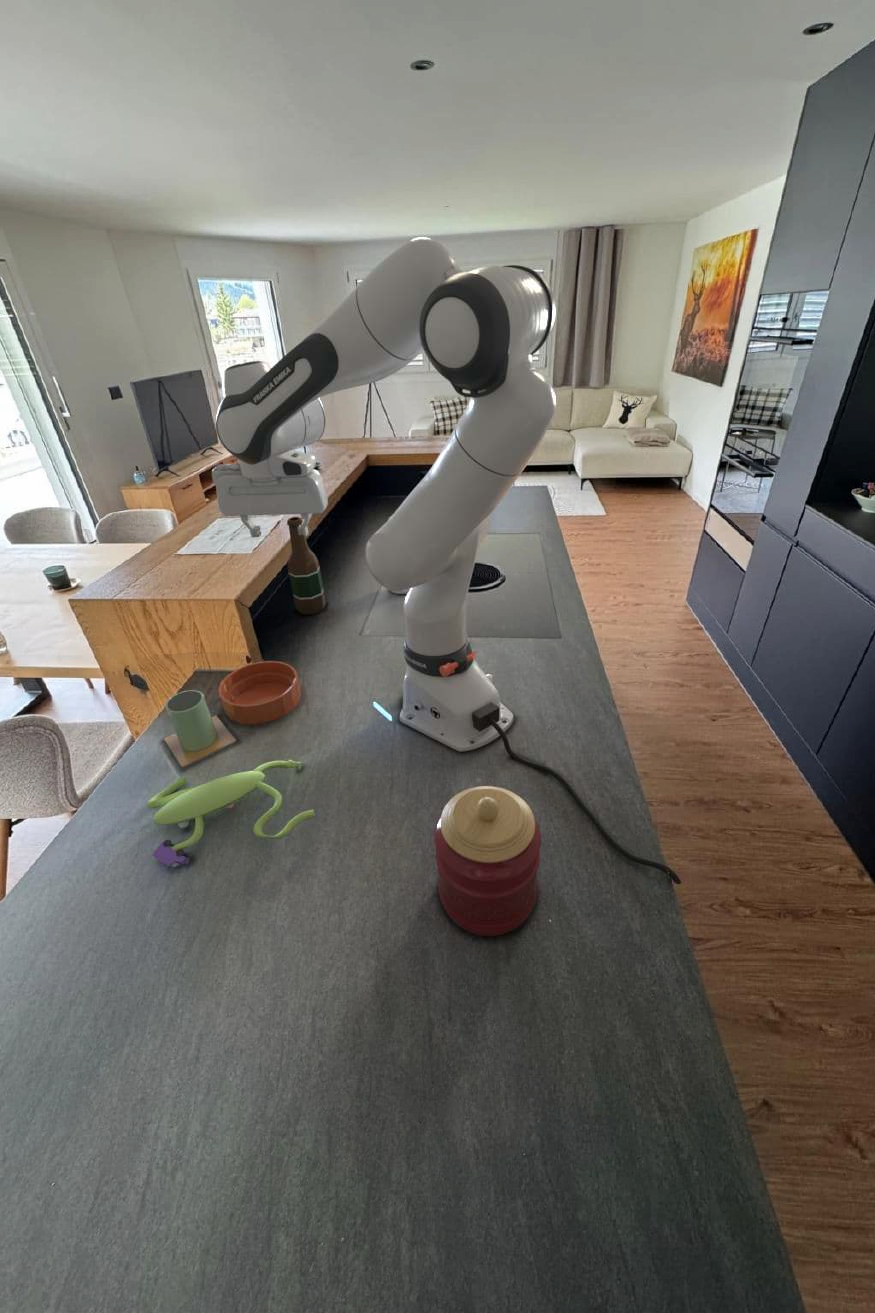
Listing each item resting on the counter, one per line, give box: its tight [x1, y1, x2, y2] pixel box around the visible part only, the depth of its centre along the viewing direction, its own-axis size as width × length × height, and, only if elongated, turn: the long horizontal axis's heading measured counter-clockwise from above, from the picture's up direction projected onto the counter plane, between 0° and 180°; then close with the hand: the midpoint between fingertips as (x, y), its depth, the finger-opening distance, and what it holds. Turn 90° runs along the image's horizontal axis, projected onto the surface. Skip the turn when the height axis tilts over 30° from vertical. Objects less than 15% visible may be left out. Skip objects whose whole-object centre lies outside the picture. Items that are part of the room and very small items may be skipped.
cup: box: [164, 689, 217, 751], centre depth 99 cm, size 6×6×9 cm
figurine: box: [147, 759, 316, 869], centre depth 85 cm, size 18×27×6 cm
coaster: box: [163, 714, 237, 768], centre depth 102 cm, size 10×10×1 cm
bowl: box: [218, 660, 302, 726], centre depth 110 cm, size 15×15×5 cm
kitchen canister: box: [434, 785, 542, 937], centre depth 69 cm, size 13×13×18 cm
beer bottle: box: [286, 516, 326, 615], centre depth 138 cm, size 8×8×24 cm
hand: (280, 535), depth 108 cm, fingers open, 8 cm apart
